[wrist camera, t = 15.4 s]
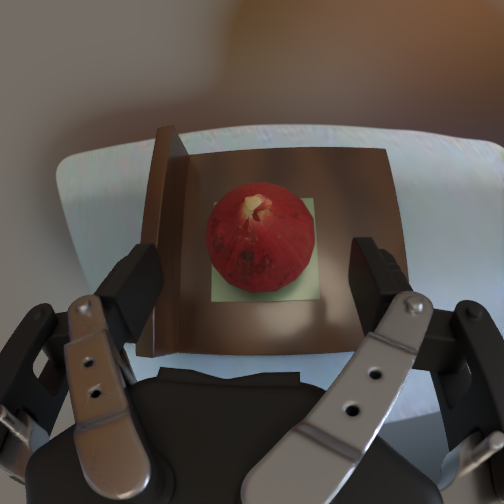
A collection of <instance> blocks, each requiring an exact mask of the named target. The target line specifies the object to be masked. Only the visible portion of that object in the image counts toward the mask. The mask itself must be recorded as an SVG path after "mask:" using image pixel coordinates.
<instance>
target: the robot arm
mask: <svg viewBox="0 0 504 504" xmlns="http://www.w3.org/2000/svg"><path fill="white" fill-rule="evenodd" d="M107 276H108V277H106V278H105V279H104V281H103V282H102V283H101V285H100V286H99V288H98V289H97V290H96V292H95V293H94V294H93V295H86V296H82V297H81V298H78V299H77V300H75V301H74V302H73V303H72V304H71V305H70V307H69V308H68V311H67V312H62V313H56V314H55V312H54V310H53V308H52V306H51V305H50V304H47V303H43V304H39V305H37V306H35V307H33V308H32V309H31V310H30V311H29V312H28V313H27V314H26V316H25V317H24V318H23V320H22V321H21V323H20V324H19V326H18V327H17V328H16V330H15V331H14V333H13V334H12V336H11V337H10V339H9V340H8V342H7V343H6V345H5V346H4V348H3V349H2V351H1V353H0V472H1V473H2V474H4V475H6V476H9V477H10V478H12V479H14V480H15V481H17V482H19V483H20V484H23V485H25V488H26V499H27V504H504V339H503V337H502V336H501V334H500V332H499V330H498V328H497V327H496V325H495V323H494V321H493V320H492V318H491V316H490V314H489V313H488V311H487V310H486V309H485V308H484V307H483V306H482V305H481V304H479V303H477V302H475V301H471V300H463V301H460V302H459V303H458V304H457V305H456V307H455V310H454V312H452V311H445V310H438V309H434V308H433V304H432V302H431V301H430V300H429V299H428V298H427V297H426V296H424V295H422V294H420V293H418V292H414V291H413V289H412V288H411V286H410V284H409V282H408V280H407V279H406V277H405V275H404V273H403V272H401V268H400V267H399V265H398V263H397V262H396V260H395V258H394V257H393V255H392V254H390V253H389V252H388V251H386V250H385V249H378V247H377V245H376V244H375V242H374V240H373V238H372V237H353V239H352V243H351V252H350V261H349V270H348V281H349V287H350V290H351V293H352V296H353V300H354V303H355V306H356V310H357V313H358V316H359V320H360V323H361V327H362V330H363V334H364V340H363V341H362V343H361V344H360V345H359V347H358V348H357V350H356V351H355V353H354V354H353V356H352V357H351V359H350V360H349V361H348V363H347V364H346V366H345V367H344V368H343V370H342V371H341V373H340V374H339V375H338V377H337V378H336V379H335V381H334V382H333V383H332V385H331V386H330V387H329V388H328V390H327V391H325V390H324V389H322V388H319V387H317V386H314V385H311V384H307V383H302V382H300V372H274V373H259V374H254V375H249V376H243V377H238V378H232V379H222V378H218V377H214V376H211V375H207V374H204V373H201V372H197V371H194V370H188V369H176V368H166V367H160V369H159V372H158V375H157V377H152V378H148V379H144V380H141V381H138V382H137V380H136V377H135V375H134V372H133V370H132V367H131V365H130V362H129V359H128V356H127V354H126V351H125V349H124V347H123V346H124V344H125V342H126V343H135V344H137V342H138V340H139V338H140V335H141V333H142V331H143V329H144V327H145V325H146V323H147V320H148V318H149V316H150V314H151V312H152V310H153V308H154V306H155V304H156V302H157V300H158V298H159V296H160V294H161V292H162V290H163V287H164V274H163V270H162V267H161V263H160V259H159V256H158V252H157V248H156V246H155V245H154V244H153V243H151V244H137V245H135V247H134V248H133V249H132V250H131V252H130V253H129V254H128V256H126V257H124V258H123V259H121V260H120V261H119V262H117V264H116V265H115V266H114V268H113V269H112V271H111V272H110V273H109V274H108V275H107ZM41 349H42V350H43V351H44V353H45V354H46V356H47V357H48V358H49V360H48V362H47V363H46V365H45V367H44V369H43V371H42V373H41V374H40V376H39V378H37V377H36V376H35V374H34V372H33V363H34V361H35V359H36V357H37V356H38V354H39V352H40V350H41ZM467 364H468V366H467ZM468 367H469V369H470V372H471V374H470V372H469V369H468ZM411 369H417V370H425V371H430V374H431V377H432V381H433V384H434V388H435V391H436V395H437V399H438V402H439V406H440V410H441V414H442V419H443V423H444V427H445V432H446V437H447V441H448V447H449V452H450V453H448V454H447V456H446V457H445V458H444V460H443V462H442V465H441V476H440V481H439V484H438V486H436V485H435V483H433V481H432V480H431V479H429V478H428V477H427V476H426V475H425V474H423V473H422V472H421V471H419V470H418V469H417V468H416V467H415V466H414V465H412V464H411V463H410V462H409V461H408V460H407V459H405V458H404V457H403V456H402V455H401V454H399V453H398V452H397V451H396V450H395V449H393V448H392V447H391V446H390V445H389V444H388V443H387V442H386V441H384V440H383V439H382V438H381V437H380V436H379V435H378V432H379V430H380V429H381V427H382V425H383V423H384V422H385V420H386V418H387V416H388V415H389V413H390V411H391V409H392V407H393V405H394V403H395V401H396V400H397V398H398V396H399V394H400V392H401V390H402V388H403V386H404V384H405V381H406V379H407V377H408V375H409V373H410V371H411ZM68 390H69V392H70V398H71V404H72V408H73V413H74V418H75V424H74V425H72V426H71V427H69V428H68V429H66V430H65V431H64V432H62V433H60V434H59V435H57V436H56V437H54V438H53V439H52V440H50V441H49V437H50V435H51V432H52V429H53V427H54V424H55V421H56V419H57V417H58V414H59V411H60V409H61V407H62V404H63V402H64V400H65V397H66V395H67V393H68Z"/></svg>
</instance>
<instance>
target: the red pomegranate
mask: <svg viewBox="0 0 504 504" xmlns="http://www.w3.org/2000/svg"><path fill="white" fill-rule="evenodd" d="M205 244H206V247H207V250H208V253H209V256H210V259H211V262H212V264H213V266H214V268H215V269H216V270H217V271H218V272H219V273H220V275H221V276H222V277H223V278H224V279H225V280H226V281H227V282H228V283H229V284H230V285H233V286H235V287H238V288H240V289H243V290H246V291H248V292H251V293H257V292H272V291H277V290H279V289H281V288H282V287H284V286H286V285H288V284H290V283H291V282H293V281H295V280H296V279H297V278H298V277H299V275H300V274H301V273H302V272H303V270H304V269H305V268H306V267H307V265H308V264H309V262H310V259H311V255H312V252H313V249H314V245H315V231H314V218H313V217H312V215H311V213H310V212H309V210H308V209H307V207H306V205H305V204H304V202H303V201H302V200H301V199H300V198H298V197H297V196H296V195H294V194H293V193H292V192H290V191H289V190H287V189H286V188H285V187H282V186H278V185H275V184H272V183H268V182H261V183H247V184H245V185H243V186H240V187H238V188H235V189H233V190H231V191H229V192H228V193H227V194H226V195H225V196H224V197H223V198H222V199H221V200H220V201H219V202H218V203H216V204H215V206H214V208H213V210H212V213H211V215H210V217H209V219H208V221H207V231H206V242H205Z"/></svg>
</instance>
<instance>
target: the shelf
mask: <svg viewBox="0 0 504 504" xmlns="http://www.w3.org/2000/svg"><path fill="white" fill-rule="evenodd" d="M261 182H268V183H272V184H275V185H278V186H282V187H285V188H286V189H287V190H289V191H290V192H292V193H293V194H294V195H296V196H297V197H298V198H300V199H301V200H302V201H303V202H304V204H305V205H306V207H307V209H308V210H309V212H310V213H311V215H312V217H313V218H314V231H315V245H314V249H313V252H312V255H311V259H310V262H309V264H308V265H307V267H306V268H305V269H304V270H303V272H302V273H301V274H300V275H299V277H298V278H297V279H296V280H295V281H293V282H291V283H290V284H288V285H286V286H284V287H282V288H281V289H279V290H277V291H272V292H257V293H251V292H248V291H246V290H243V289H240V288H238V287H235V286H233V285H230V284H229V283H228V282H227V281H226V280H225V279H224V278H223V277H222V276H221V275H220V273H219V272H218V271H217V270H216V269H215V268H214V266H213V264H212V262H211V259H210V256H209V253H208V250H207V247H206V244H205V242H206V231H207V221H208V219H209V217H210V215H211V213H212V210H213V208H214V206H215V204H216V203H218V202H219V201H220V200H221V199H222V198H223V197H224V196H225V195H226V194H227V193H228V192H229V191H231V190H233V189H235V188H238V187H240V186H243V185H245V184H247V183H261ZM353 237H372V238H373V240H374V242H375V244H376V245H377V247H378V249H385V250H386V251H388V252H389V253H390V254H392V255H393V257H394V258H395V260H396V262H397V263H398V265H399V267H400V268H401V272H403V273H404V275H405V277H406V279H407V280H408V282H409V278H408V268H407V259H406V251H405V243H404V236H403V230H402V224H401V218H400V212H399V206H398V201H397V196H396V191H395V186H394V182H393V177H392V173H391V169H390V164H389V160H388V156H387V153H386V149H378V148H352V147H296V148H269V149H251V150H237V151H225V152H214V153H204V154H195V155H189V154H188V152H187V150H186V149H185V147H184V145H183V143H182V141H181V139H180V137H179V136H178V134H177V132H176V130H175V128H174V126H166V127H162V128H158V130H157V135H156V140H155V145H154V150H153V156H152V161H151V167H150V173H149V179H148V186H147V193H146V200H145V207H144V215H143V223H142V233H141V242H140V244H151V243H153V244H154V245H155V246H156V248H157V252H158V256H159V259H160V263H161V267H162V270H163V274H164V287H163V290H162V292H161V294H160V296H159V298H158V300H157V302H156V304H155V306H154V308H153V310H152V312H151V314H150V316H149V318H148V320H147V323H146V325H145V327H144V329H143V331H142V333H141V335H140V338H139V340H138V342H137V344H136V356H140V357H149V358H155V357H160V356H165V355H170V354H174V353H191V354H211V355H303V354H323V353H338V352H351V351H356V350H357V348H358V347H359V345H360V344H361V343H362V341H363V340H364V334H363V330H362V327H361V323H360V320H359V316H358V313H357V310H356V306H355V303H354V300H353V296H352V293H351V290H350V287H349V281H348V270H349V261H350V252H351V243H352V239H353Z"/></svg>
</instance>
